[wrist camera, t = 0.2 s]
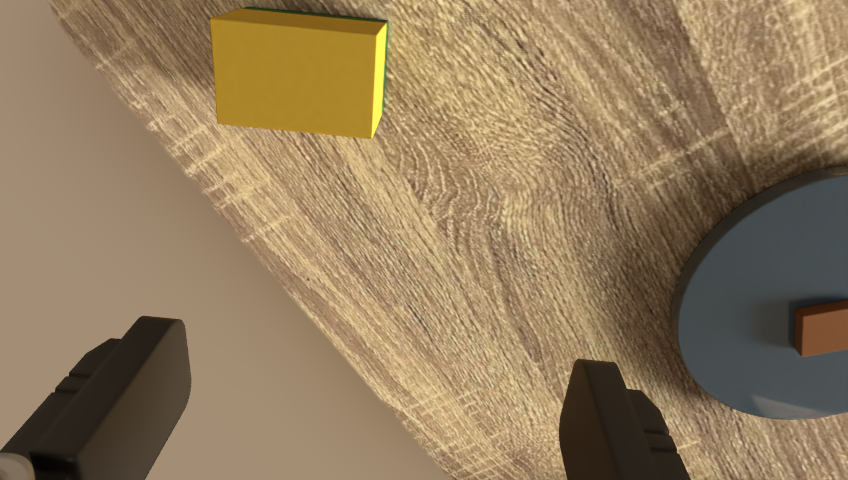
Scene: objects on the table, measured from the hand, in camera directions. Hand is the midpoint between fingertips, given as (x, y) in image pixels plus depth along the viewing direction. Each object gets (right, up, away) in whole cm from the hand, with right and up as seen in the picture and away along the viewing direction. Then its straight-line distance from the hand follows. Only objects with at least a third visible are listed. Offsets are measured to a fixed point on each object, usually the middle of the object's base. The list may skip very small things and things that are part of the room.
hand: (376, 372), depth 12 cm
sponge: (-4, +12, +18) cm, 22 cm away
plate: (+24, -1, +23) cm, 33 cm away
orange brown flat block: (+24, -2, +22) cm, 33 cm away
